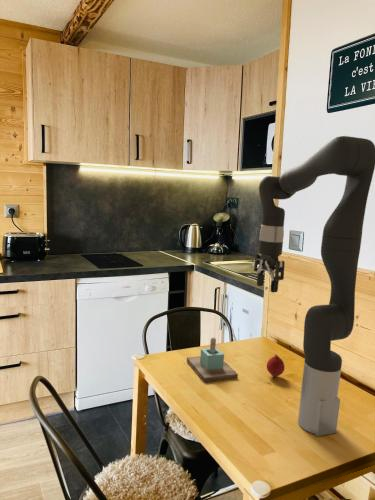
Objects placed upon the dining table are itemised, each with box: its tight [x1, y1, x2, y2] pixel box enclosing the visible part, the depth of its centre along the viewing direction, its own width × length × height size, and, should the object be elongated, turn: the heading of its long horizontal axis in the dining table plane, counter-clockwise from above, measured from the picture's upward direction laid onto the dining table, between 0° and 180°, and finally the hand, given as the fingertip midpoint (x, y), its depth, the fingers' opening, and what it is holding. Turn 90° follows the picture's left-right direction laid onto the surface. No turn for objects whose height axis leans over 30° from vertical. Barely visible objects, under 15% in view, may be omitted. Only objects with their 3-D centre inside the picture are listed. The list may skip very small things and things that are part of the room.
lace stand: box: [186, 337, 239, 383], centre depth 138 cm, size 16×12×11 cm
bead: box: [199, 347, 225, 370], centre depth 138 cm, size 6×6×5 cm
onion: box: [266, 353, 285, 378], centre depth 136 cm, size 6×6×8 cm
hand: (266, 288), depth 132 cm, fingers open, 8 cm apart
